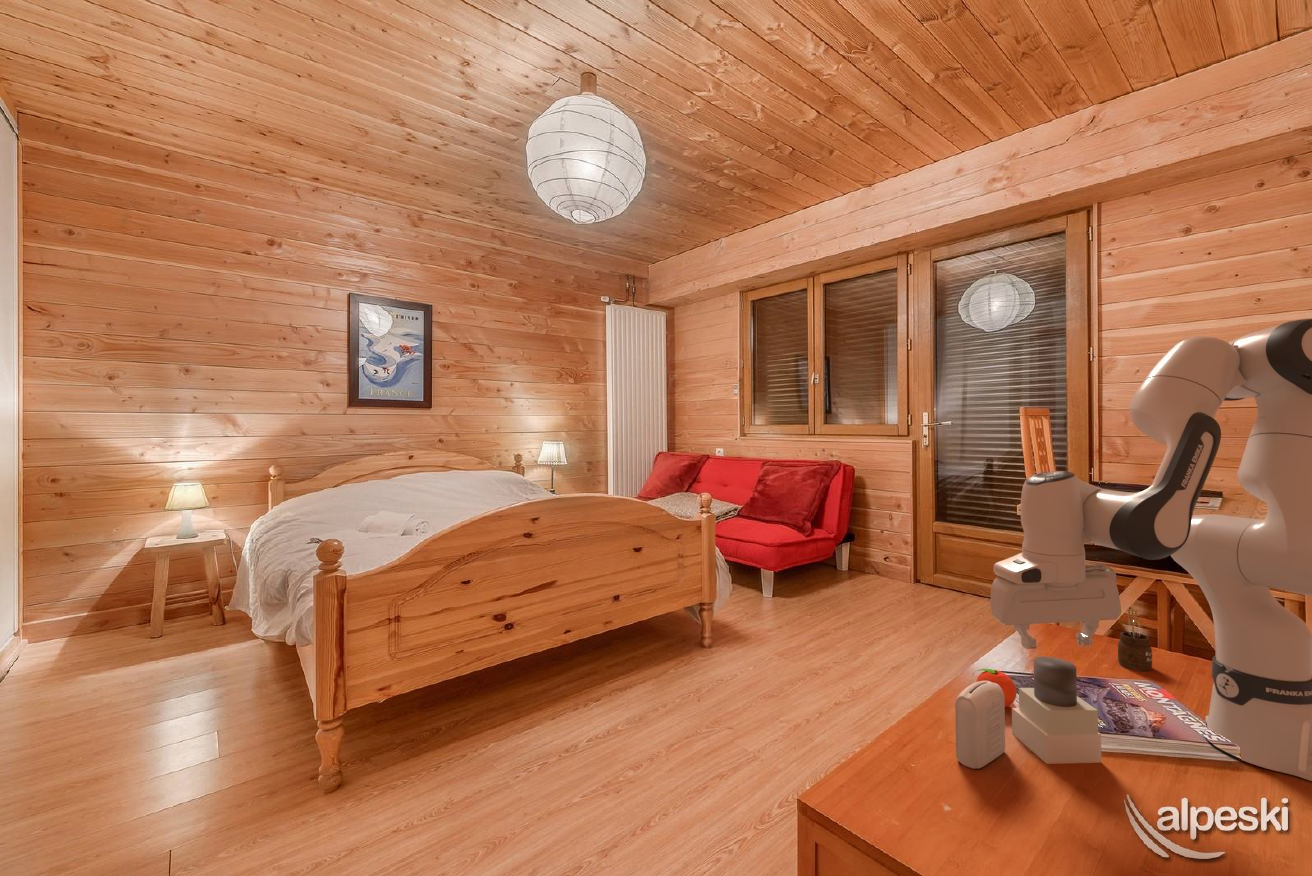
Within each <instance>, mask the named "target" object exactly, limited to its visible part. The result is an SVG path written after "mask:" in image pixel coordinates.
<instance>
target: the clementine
mask: <svg viewBox="0 0 1312 876" xmlns="http://www.w3.org/2000/svg"><path fill="white" fill-rule="evenodd" d="M977 671H979V672H980V671H983V672H981V673H980V674H979V675H978V677H977V678H976V680H975V683H976V682H979V681H990V682H992V683H997V684H998V685H999V686H1000V687H1001V689H1002V690H1003V693H1004V702H1005V708H1007V707H1010V706H1011V705H1012V704H1013V703H1014V702H1015V700H1016V698H1017V692H1018V691H1017V687H1016V685H1015V683H1014V681H1013V680H1012V678H1011V677H1010V676H1009V675H1007V674H1006V673H1004V672H1003V671H1000V670H998V669H991V668H979V669H977V670H974V672H973V673H972V675H974V674H975V673H976V672H977Z"/></svg>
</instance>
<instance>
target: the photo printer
mask: <svg viewBox="0 0 1312 876" xmlns="http://www.w3.org/2000/svg"><path fill="white" fill-rule="evenodd" d="M954 705H955V706H954V707H955V713H954V714H955V715H954V717H955V755H956V759H957V760H958V762H959V763H960V764H962V765H963V766H965V767H967V768H969V769H974V770H975V769H981V768H983V767H985V766H987V765H988V764H989V763H991V762H992V761H995V759H997V758H998V757H1000V756H1001V755H1003V754H1004V752H1005V750H1006V728H1005V727H1006V719H1005V718H1006V717H1005V716H1006V715H1005V713H1006V712H1005V708H1006V707H1005V702H1004V693H1003V690H1002V689H1001V687H1000V686H999V685H998V684H997V683H992V682H990V681H979V682H976V681H975V682H974V683H972V684H970V685H968V686H966V687H965V688H964V689H963V690H961V692H960V693H959V694H958V695H957V698H956V700H955V703H954Z"/></svg>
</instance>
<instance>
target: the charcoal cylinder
mask: <svg viewBox="0 0 1312 876" xmlns="http://www.w3.org/2000/svg"><path fill="white" fill-rule="evenodd" d="M1077 681H1078V680H1077V667H1076V665H1075V664H1074V663H1072V662H1070V661H1068V660H1066V659H1063V658H1062V659H1061V658H1058V657H1053V656H1038V657H1035V658H1033V688H1034V696H1035V697H1036V698H1037V699H1039V700H1040V701H1042V702H1045V703H1047V704H1050V705H1054V706H1060V707H1073V706H1075V705H1076V704H1077V696H1078V694H1077V693H1078V692H1077V687H1078V686H1077Z"/></svg>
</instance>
